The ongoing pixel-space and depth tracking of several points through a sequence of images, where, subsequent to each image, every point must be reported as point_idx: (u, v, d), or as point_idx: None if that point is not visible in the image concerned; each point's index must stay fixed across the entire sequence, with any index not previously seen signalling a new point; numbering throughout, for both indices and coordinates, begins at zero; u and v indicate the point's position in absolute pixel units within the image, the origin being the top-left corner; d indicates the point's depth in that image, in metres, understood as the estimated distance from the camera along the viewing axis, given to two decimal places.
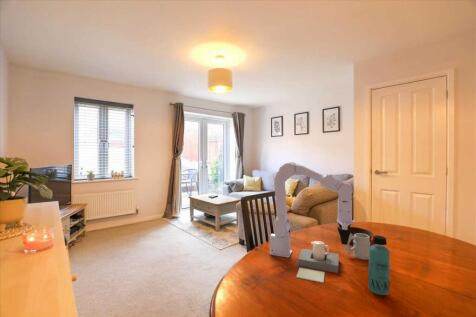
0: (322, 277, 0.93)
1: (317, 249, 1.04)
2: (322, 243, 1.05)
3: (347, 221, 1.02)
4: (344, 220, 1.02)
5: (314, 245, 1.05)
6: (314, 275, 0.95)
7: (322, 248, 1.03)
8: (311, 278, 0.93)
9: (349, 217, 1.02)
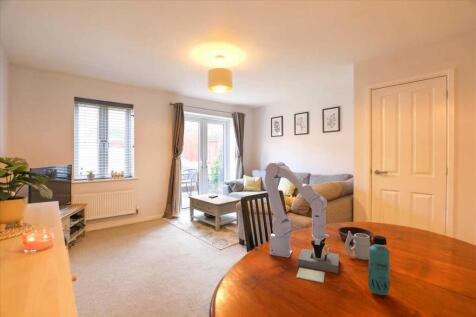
0: (322, 277, 0.93)
1: None
2: None
3: (320, 236, 1.03)
4: (318, 234, 1.03)
5: None
6: (314, 275, 0.95)
7: None
8: (311, 278, 0.93)
9: (323, 232, 1.03)
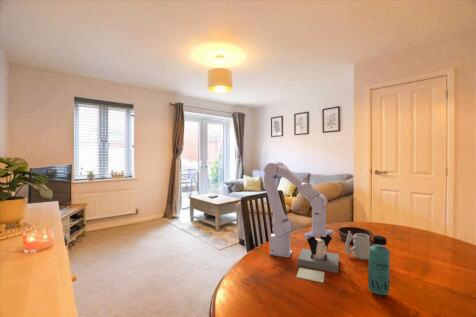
0: (322, 277, 0.93)
1: None
2: (321, 241, 1.04)
3: (315, 233, 1.04)
4: (313, 231, 1.05)
5: None
6: (314, 275, 0.95)
7: (318, 246, 1.03)
8: (311, 278, 0.93)
9: (318, 230, 1.03)
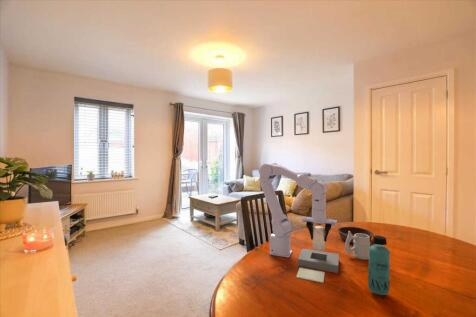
0: (322, 277, 0.93)
1: None
2: (318, 229, 1.04)
3: (312, 218, 1.05)
4: (312, 216, 1.06)
5: None
6: (314, 275, 0.95)
7: (314, 232, 1.05)
8: (311, 278, 0.93)
9: (313, 215, 1.04)
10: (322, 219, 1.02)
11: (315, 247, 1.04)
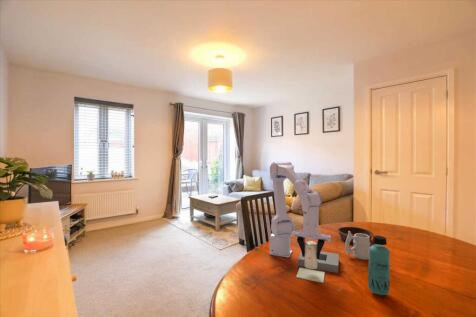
0: (322, 277, 0.93)
1: None
2: (310, 244, 0.94)
3: (303, 233, 0.95)
4: None
5: None
6: (314, 275, 0.95)
7: (305, 248, 0.95)
8: (311, 278, 0.93)
9: (304, 230, 0.94)
10: (314, 234, 0.92)
11: (307, 265, 0.94)
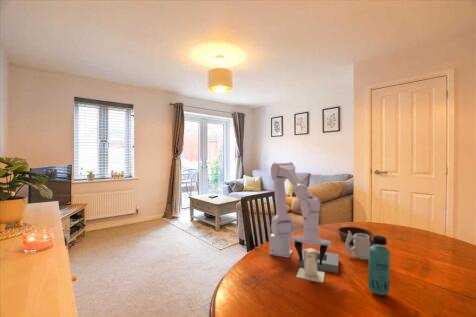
0: (322, 277, 0.93)
1: None
2: (310, 252, 0.95)
3: (303, 238, 0.95)
4: None
5: None
6: None
7: (305, 255, 0.95)
8: (311, 278, 0.93)
9: (304, 236, 0.94)
10: (314, 240, 0.92)
11: (306, 272, 0.94)
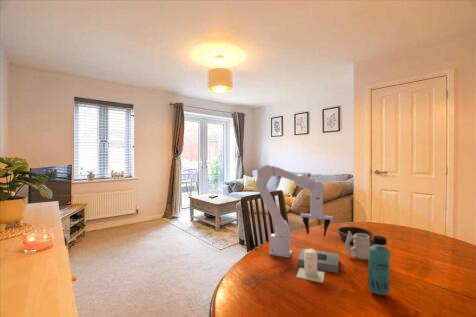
0: (322, 277, 0.93)
1: None
2: (310, 253, 0.94)
3: (310, 214, 1.15)
4: (310, 213, 1.16)
5: None
6: None
7: (305, 256, 0.95)
8: (311, 278, 0.93)
9: (311, 212, 1.14)
10: (319, 215, 1.12)
11: (306, 273, 0.94)
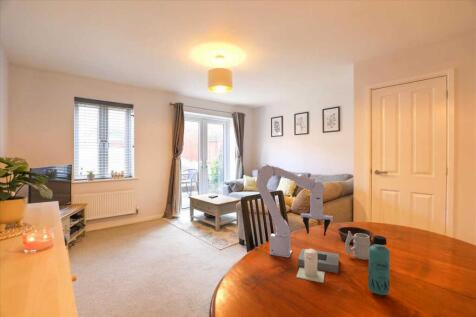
0: (322, 277, 0.93)
1: None
2: (310, 253, 0.94)
3: (310, 214, 1.15)
4: (310, 213, 1.16)
5: None
6: None
7: (305, 256, 0.95)
8: (311, 278, 0.93)
9: (311, 212, 1.14)
10: (319, 215, 1.13)
11: (306, 273, 0.94)
